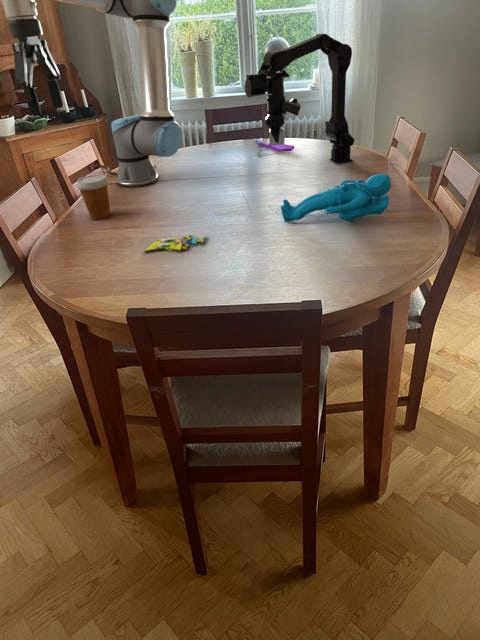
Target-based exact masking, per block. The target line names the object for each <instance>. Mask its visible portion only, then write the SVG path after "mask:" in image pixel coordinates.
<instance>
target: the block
mask: <svg viewBox="0 0 480 640" xmlns="http://www.w3.org/2000/svg"><path fill="white" fill-rule="evenodd" d="M268 130H269V131H268V140H269V141H268V142H269V143H268V144H270V146H274V145H284V144H285V140H286V139H285V127H281V128H280V135H279V142H278V143H276V142H275V140H274V138H273V136H272V134H271V131H270V129H268Z"/></svg>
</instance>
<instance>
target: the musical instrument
mask: <svg viewBox="0 0 480 640" xmlns="http://www.w3.org/2000/svg"><path fill="white" fill-rule="evenodd" d="M254 142H255V143H256V144H258V145H261V146H264V147H263V148H261V149H260V150H259V151H257V156H265V154H260V153H261V152H262V151H263V150H265V149H266V148H268V149H271V150H274V151H277V152H274V153H270V154H269V153H267V156H272V155H277V154H279V153H282V152H292V151H293V150H294V149H295V145H292V144H287V143H284V145H274V146H270V144H269V143H266V142H263V141H261V140H260V139H259V140H254Z"/></svg>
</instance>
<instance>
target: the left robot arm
mask: <svg viewBox="0 0 480 640" xmlns="http://www.w3.org/2000/svg"><path fill="white" fill-rule="evenodd" d="M54 1H55V2H61V3H67V4H73V5H78V6H83V7H89V8H94V9H95V10H96V11H97V12H98V13H102V14H107V15H112V16H116V17H120V18H125V19H132V23H133V24H134V25H135V27H136V28H137V29H138V41H139V55H140V67H141V68H140V70H141V83H142V96H143V111H141V113H140V114H136V115H130V116H125V117H121V118H118V119H115V120H113V121H112V122H111V124H110V125H111V135H112V140H113V142H114V147H115V151H116V156H117V160H118V167H117V168H118V170H117V172H113V171H110V167H108V166H106V165H104V164H96V165H94V167H93V170H95V169H97V168H102V169H105V170H106V173H107V174H110V175H113V176H117V183H118V186H120V187H123V188H124V187H125V188H136V187H137V188H138V187H145V186H147V185H148V186H149V185H151V184H154V183H156V182H157V181H158V180H159V176H158V172H157V169H158V168H157V167H158V166H157V164H155V165H154V163H153V161H152V159H151V157H152V156H154V157H160V158H163V157H172V156H174V155H175V154H176V153H177V152H178V150H179V149H180V147H181V145H182V141H183V132H182V128H181V126H180V125H179V123H178V122H176V120H175V115H174V113H173V112H172V111H171V110H170V96H169V95H170V93H169V76H168V73H169V72H168V58H167V57H168V55H167V38H166V37H167V36H166V29H167V28H168V27H169V25H170V24H171V23H170V21H171V20H170V16H171V15H172V14H174V13H175V9H176V8H177V0H54ZM1 3H2V8H3V11H4V15H5V18H6V19H8V23H7V25H8V29H9V32H10V35H11V37H12V38H13V39H17V41H18V42H12V43H11V48H12V52H13V61H14V77H15V85H16V87H17V88H18V89H23V93H24V96H25V100H26V103H27V106H28V110H29V113H30V116H31V117H32V116H42V115H43V113H42V109H41V106H40V103H39V99H38V95H37V91H36V88H35V86H33V76H34V64H36V63H37V65H38V66H39V68H40V69H41V71H42V72H43V74H44V75H45V77H46V78H47V81H46V83H47V86H48V90H49V94H50V98H51V102H52V104H53V107H64V106H65V105H64V101H63V97H62V92H61V89H60V85H59V81H58V80H61V73H60V71H59V69H58V66H57V63H56V62H55V60H54V58H53V56H52V53H51V51H50V49H49V46H48V43H47V40H46V39H45V38H43V39H42V38H41V39H40V38H39V37H41V36H43V34H44V33H43V28H42V25H41V22H40V19H39V18H37V16H38V10H37V2H36V1H35V0H1Z"/></svg>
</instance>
